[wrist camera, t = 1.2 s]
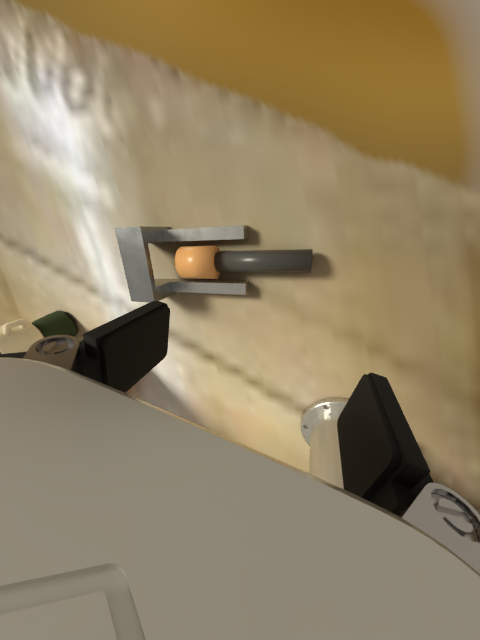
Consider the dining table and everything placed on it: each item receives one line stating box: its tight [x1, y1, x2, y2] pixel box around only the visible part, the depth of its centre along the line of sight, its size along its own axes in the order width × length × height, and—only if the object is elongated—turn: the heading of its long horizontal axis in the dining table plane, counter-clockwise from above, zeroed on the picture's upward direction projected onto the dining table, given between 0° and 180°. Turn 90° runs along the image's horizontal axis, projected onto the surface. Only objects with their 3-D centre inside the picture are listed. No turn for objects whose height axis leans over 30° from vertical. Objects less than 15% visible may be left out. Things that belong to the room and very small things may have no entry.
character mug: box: [0, 311, 77, 354], centre depth 42 cm, size 11×7×13 cm, turn 148°
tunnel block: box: [115, 225, 249, 302], centre depth 31 cm, size 16×10×6 cm, turn 93°
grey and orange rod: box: [174, 246, 313, 279], centre depth 30 cm, size 19×4×4 cm, turn 93°
